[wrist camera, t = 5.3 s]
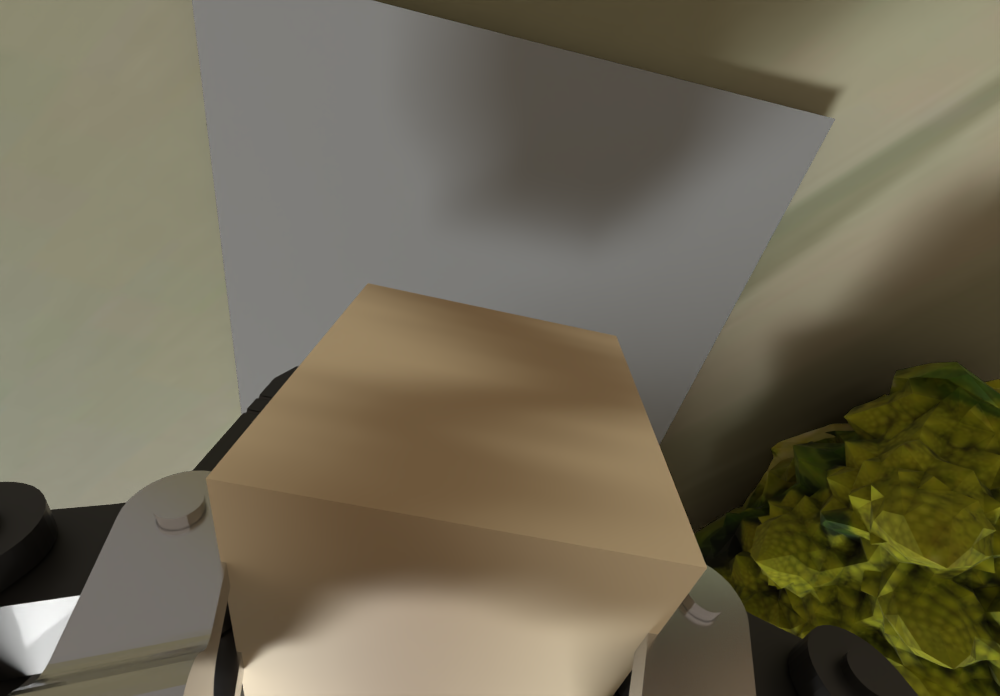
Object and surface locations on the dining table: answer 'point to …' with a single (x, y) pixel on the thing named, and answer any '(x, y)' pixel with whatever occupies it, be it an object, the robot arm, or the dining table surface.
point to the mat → (481, 183)
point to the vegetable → (884, 531)
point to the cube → (450, 511)
